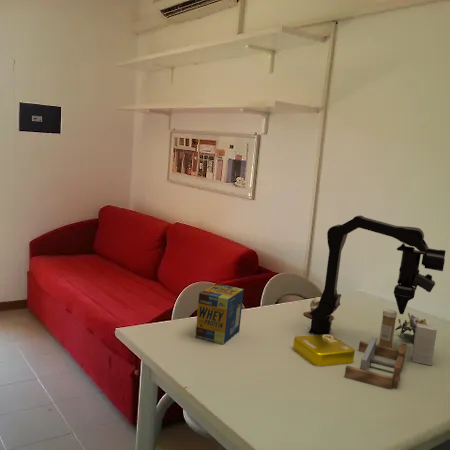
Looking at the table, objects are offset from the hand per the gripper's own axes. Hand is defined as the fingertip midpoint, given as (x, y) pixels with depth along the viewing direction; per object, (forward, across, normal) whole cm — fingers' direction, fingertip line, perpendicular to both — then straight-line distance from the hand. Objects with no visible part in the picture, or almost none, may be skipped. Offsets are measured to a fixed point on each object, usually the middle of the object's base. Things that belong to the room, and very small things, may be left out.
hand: (402, 310), depth 166 cm
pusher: (+14, -19, +2) cm, 24 cm away
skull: (+15, +20, +32) cm, 40 cm away
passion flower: (+15, +16, -3) cm, 22 cm away
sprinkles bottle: (+15, +1, +4) cm, 15 cm away
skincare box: (+14, -4, -8) cm, 17 cm away
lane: (+14, -19, +5) cm, 25 cm away
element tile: (+15, -19, +21) cm, 32 cm away
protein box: (+15, -24, +56) cm, 63 cm away
